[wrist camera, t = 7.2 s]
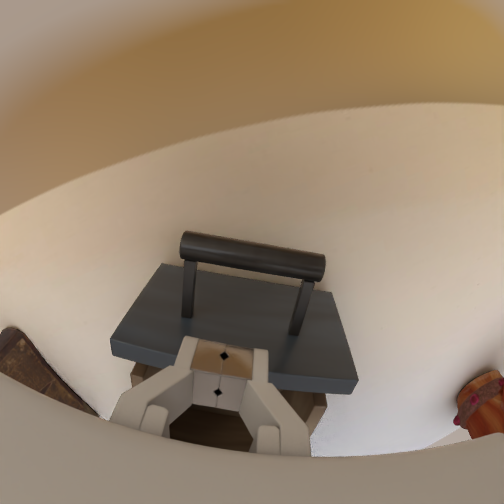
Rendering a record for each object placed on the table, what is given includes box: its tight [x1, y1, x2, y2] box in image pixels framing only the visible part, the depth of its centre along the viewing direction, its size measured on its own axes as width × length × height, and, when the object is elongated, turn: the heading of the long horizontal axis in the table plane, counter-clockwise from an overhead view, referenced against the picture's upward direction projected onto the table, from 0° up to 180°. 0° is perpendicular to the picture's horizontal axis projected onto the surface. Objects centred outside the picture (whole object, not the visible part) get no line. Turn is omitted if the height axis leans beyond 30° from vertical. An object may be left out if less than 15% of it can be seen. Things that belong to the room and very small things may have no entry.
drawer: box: [110, 231, 359, 452], centre depth 20 cm, size 20×13×9 cm, turn 171°
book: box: [0, 328, 99, 417], centre depth 19 cm, size 17×7×25 cm, turn 21°
